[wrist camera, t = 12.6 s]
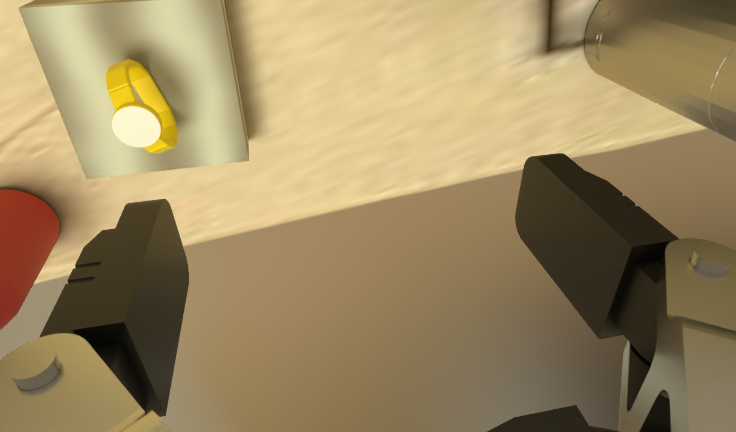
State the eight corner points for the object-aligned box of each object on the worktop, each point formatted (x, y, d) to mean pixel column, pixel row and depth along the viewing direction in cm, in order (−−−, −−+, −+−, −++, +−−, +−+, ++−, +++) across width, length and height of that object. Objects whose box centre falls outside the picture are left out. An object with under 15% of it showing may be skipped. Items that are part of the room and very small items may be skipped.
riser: (222, -13, 34) (219, -4, 31) (248, 140, 41) (248, 160, 38) (40, -3, 32) (18, 7, 29) (99, 156, 39) (86, 179, 36)
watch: (190, 120, 35) (185, 160, 31) (155, 133, 35) (145, 176, 31) (143, 43, 32) (129, 77, 27) (104, 59, 32) (84, 95, 27)
